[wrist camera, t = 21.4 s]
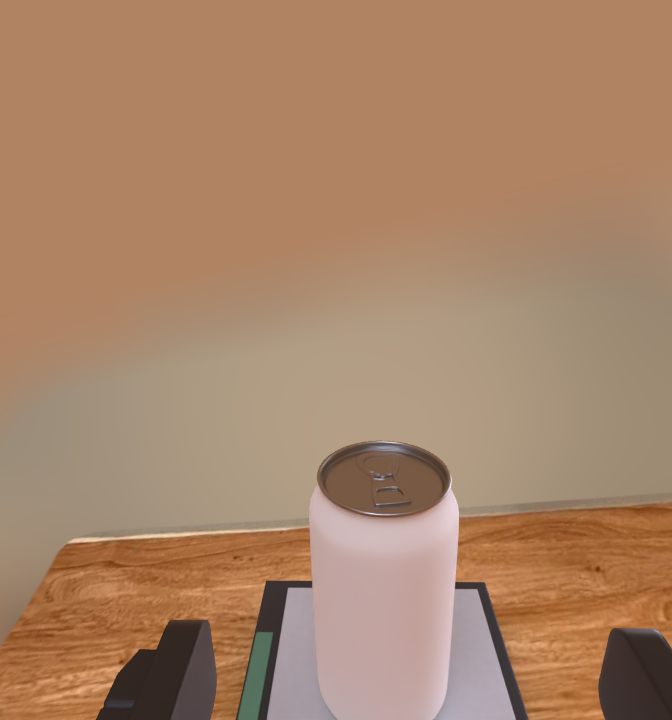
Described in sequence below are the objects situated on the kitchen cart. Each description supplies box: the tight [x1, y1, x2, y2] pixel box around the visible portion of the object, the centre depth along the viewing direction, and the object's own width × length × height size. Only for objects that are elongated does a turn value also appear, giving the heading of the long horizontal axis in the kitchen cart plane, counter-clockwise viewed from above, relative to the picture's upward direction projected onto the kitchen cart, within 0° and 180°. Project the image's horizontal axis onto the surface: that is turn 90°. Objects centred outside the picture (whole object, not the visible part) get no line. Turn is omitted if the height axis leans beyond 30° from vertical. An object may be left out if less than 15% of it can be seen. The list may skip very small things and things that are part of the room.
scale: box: [236, 581, 529, 720], centre depth 26 cm, size 14×14×3 cm
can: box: [309, 441, 459, 720], centre depth 23 cm, size 6×6×12 cm
